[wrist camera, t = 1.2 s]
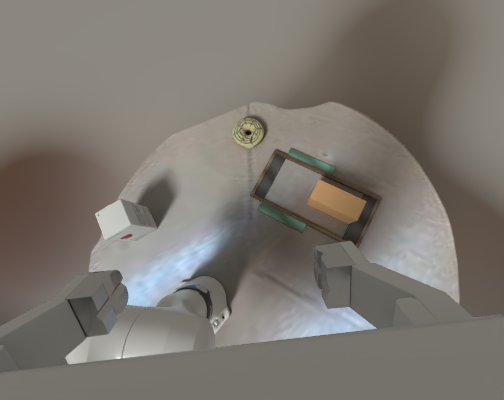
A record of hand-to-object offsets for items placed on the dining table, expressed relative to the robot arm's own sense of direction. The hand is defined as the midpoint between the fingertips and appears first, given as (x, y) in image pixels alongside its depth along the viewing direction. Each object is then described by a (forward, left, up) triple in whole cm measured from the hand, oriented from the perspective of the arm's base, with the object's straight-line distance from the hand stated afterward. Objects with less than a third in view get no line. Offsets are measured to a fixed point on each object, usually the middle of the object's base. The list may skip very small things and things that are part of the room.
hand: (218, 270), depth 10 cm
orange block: (+21, -9, -66) cm, 70 cm away
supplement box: (-14, +44, -67) cm, 81 cm away
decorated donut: (+31, +26, -67) cm, 78 cm away
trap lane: (+21, -3, -66) cm, 70 cm away
